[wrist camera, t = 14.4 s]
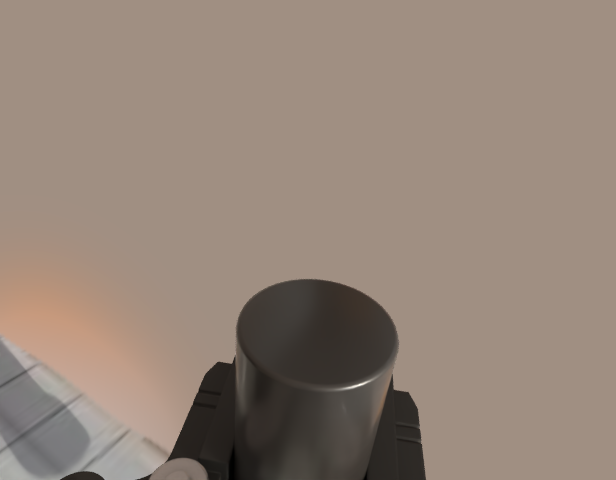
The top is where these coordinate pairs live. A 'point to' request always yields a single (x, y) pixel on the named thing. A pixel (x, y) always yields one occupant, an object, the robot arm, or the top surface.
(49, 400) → the top surface
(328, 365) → the rod
